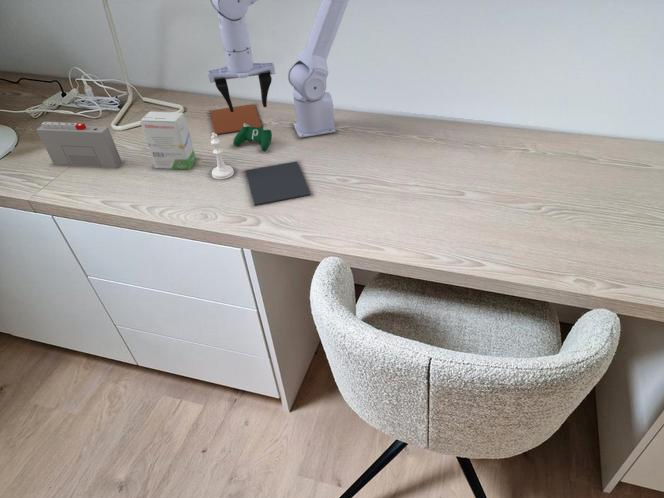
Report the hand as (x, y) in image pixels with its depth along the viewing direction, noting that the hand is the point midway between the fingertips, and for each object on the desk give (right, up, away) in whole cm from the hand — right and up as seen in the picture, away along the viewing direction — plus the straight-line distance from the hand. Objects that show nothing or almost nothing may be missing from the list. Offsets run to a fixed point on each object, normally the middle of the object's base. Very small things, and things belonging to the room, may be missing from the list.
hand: (248, 107), depth 115 cm
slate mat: (+8, -19, -6) cm, 21 cm away
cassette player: (-38, -13, +1) cm, 40 cm away
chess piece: (-5, -16, -3) cm, 17 cm away
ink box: (-17, -13, +1) cm, 21 cm away
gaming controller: (0, -7, +7) cm, 10 cm away
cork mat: (-7, +2, +16) cm, 18 cm away
